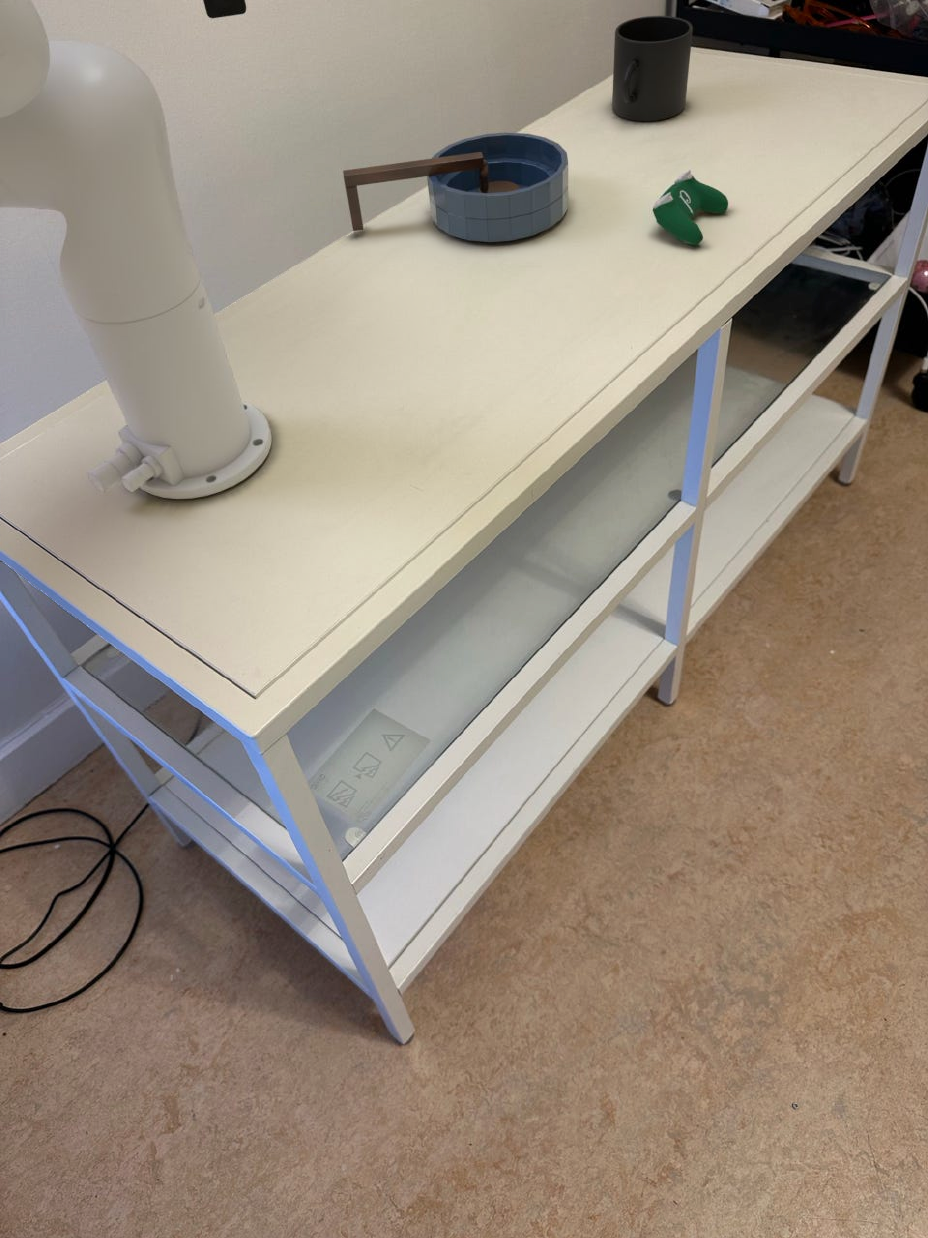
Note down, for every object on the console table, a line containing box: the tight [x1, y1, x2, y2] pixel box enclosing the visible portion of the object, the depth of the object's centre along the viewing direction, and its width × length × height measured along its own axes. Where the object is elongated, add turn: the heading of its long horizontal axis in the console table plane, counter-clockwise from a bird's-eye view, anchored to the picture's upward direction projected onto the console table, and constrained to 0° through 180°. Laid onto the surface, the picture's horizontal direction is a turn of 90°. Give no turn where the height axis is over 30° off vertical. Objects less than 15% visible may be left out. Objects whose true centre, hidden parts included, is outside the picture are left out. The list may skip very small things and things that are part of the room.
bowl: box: [426, 131, 569, 243], centre depth 100 cm, size 15×15×6 cm
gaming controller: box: [652, 169, 729, 247], centre depth 96 cm, size 9×4×6 cm
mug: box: [611, 15, 694, 122], centre depth 113 cm, size 9×12×9 cm
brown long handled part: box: [342, 152, 520, 232], centre depth 99 cm, size 19×5×6 cm, turn 98°
